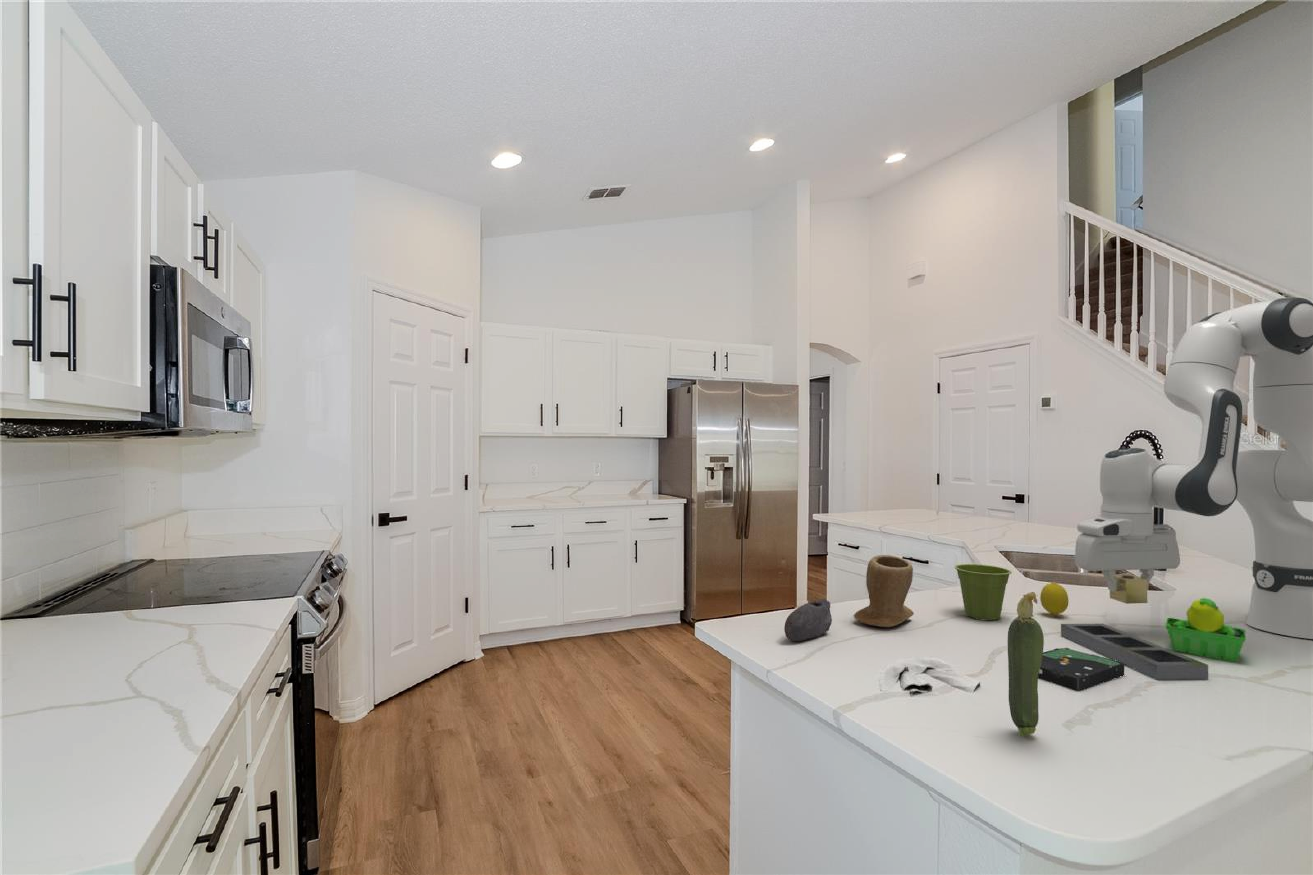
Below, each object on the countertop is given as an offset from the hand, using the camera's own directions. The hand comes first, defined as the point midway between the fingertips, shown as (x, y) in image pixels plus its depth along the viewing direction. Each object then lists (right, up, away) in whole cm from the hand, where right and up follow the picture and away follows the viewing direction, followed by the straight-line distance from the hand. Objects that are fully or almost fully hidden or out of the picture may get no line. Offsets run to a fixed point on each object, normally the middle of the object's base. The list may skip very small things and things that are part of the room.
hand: (1128, 590), depth 130 cm
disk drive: (-27, -10, -22) cm, 36 cm away
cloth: (-54, -10, -25) cm, 60 cm away
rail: (-10, -9, -13) cm, 19 cm away
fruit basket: (+5, -10, -12) cm, 16 cm away
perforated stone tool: (-69, -10, -2) cm, 69 cm away
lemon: (-7, -10, +14) cm, 18 cm away
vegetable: (-49, -9, -44) cm, 66 cm away
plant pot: (-24, -10, +13) cm, 29 cm away
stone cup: (-48, -10, +9) cm, 49 cm away
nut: (0, -2, 0) cm, 2 cm away
